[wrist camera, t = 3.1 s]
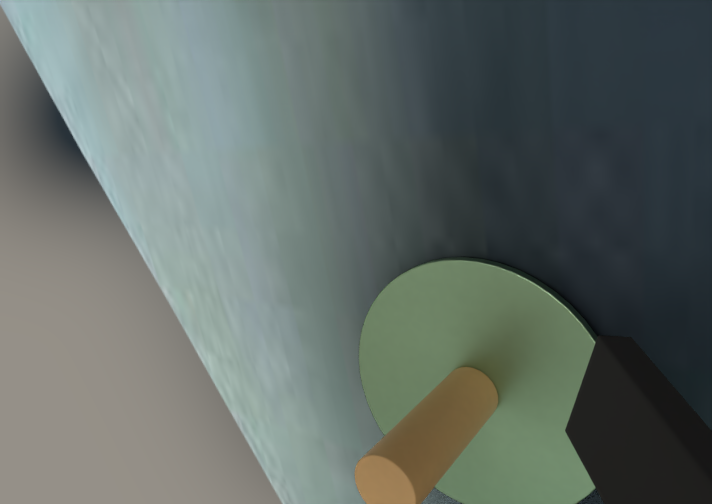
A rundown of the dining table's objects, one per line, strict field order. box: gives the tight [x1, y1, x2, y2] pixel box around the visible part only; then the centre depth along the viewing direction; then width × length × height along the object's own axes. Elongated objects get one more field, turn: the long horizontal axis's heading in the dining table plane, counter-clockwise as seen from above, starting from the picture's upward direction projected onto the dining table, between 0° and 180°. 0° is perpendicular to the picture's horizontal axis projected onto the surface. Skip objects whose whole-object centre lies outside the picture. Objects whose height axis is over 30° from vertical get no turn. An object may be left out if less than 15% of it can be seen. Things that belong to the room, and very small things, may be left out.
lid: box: [355, 257, 597, 504], centre depth 28 cm, size 15×15×10 cm
